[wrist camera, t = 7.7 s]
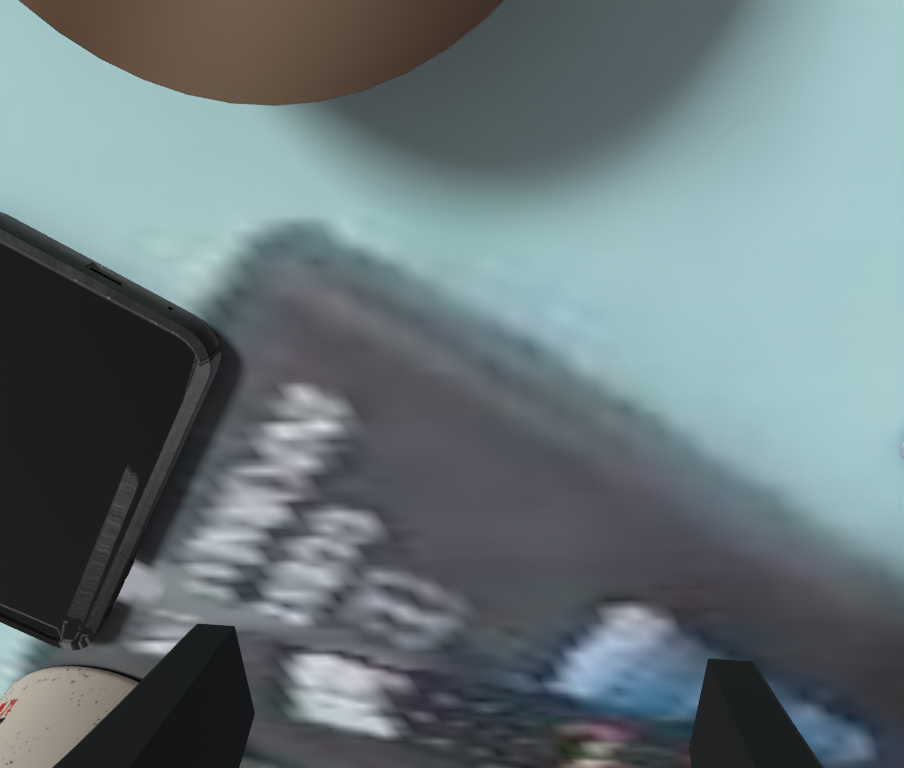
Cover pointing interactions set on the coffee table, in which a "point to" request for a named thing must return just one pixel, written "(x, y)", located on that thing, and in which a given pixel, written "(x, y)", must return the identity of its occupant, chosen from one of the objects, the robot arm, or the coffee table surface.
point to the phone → (84, 428)
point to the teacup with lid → (55, 712)
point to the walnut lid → (265, 42)
